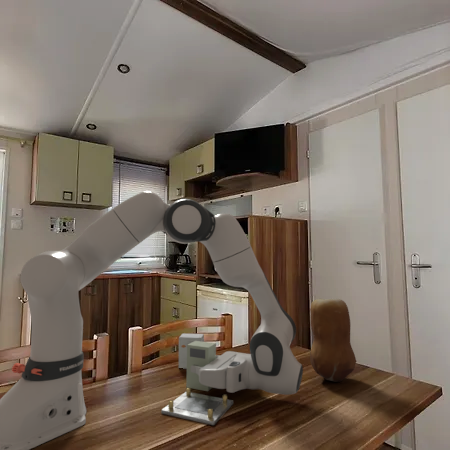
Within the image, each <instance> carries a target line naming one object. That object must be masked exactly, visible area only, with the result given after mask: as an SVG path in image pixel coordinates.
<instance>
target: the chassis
mask: <svg viewBox="0 0 450 450" xmlns="http://www.w3.org/2000/svg"><path fill="white" fill-rule="evenodd" d="M233 405H234V400H232V399H228V394H223V395H222V397H217V396H211V395H207V394H206V395H205V394H202V393H196V392H192V388H188V387H186V389H185V392H184V393H182V394H180V396H178V397H176V399H174V400H169V401H168V404H167V405H166V406H165V407H163V408H162V409H161V411H160V413H161V414H163V415H168V416H171V417H175V418H181V419H185V420H188V421H193V422H198V423H201V424H207V425H211V426H215V425H216V424H217V422H219V420H220V419H221V418H222V417H223V416H224V415H225V413H227V411H228V410H229V409H230V408H231V407H232V406H233Z"/></svg>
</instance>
